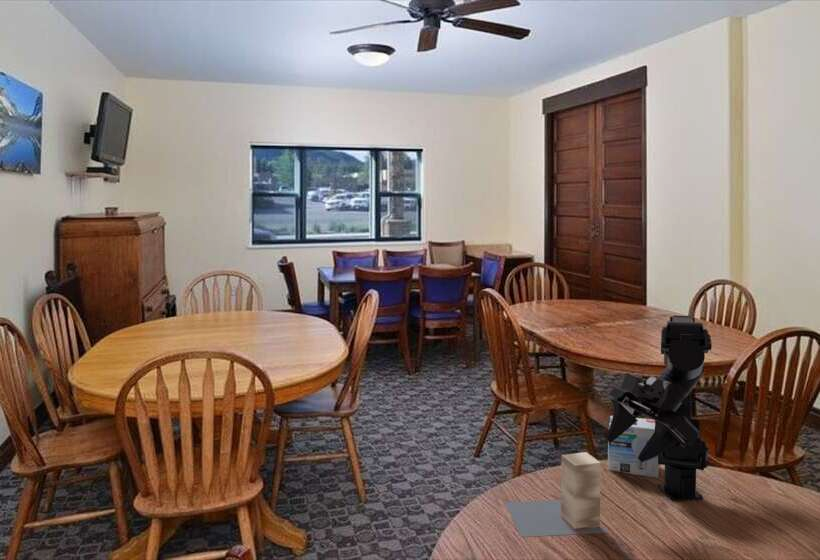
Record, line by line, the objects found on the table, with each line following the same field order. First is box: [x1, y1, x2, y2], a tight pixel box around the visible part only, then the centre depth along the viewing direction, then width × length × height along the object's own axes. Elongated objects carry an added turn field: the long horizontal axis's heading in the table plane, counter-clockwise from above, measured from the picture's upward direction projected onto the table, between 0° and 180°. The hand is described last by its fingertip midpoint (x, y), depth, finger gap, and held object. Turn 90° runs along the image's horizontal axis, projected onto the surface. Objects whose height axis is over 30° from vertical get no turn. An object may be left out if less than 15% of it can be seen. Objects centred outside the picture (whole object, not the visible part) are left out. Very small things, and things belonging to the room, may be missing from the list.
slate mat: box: [504, 499, 608, 538], centre depth 112 cm, size 13×16×1 cm
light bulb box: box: [607, 415, 660, 478], centre depth 132 cm, size 11×7×11 cm, turn 70°
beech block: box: [560, 451, 602, 531], centre depth 109 cm, size 5×5×12 cm
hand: (623, 450), depth 109 cm, fingers open, 9 cm apart
